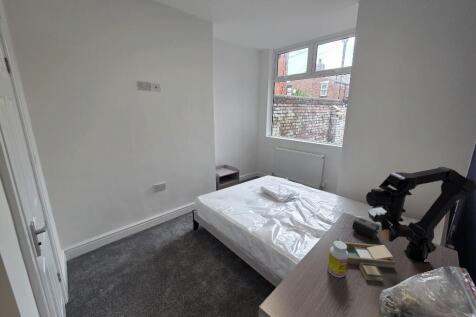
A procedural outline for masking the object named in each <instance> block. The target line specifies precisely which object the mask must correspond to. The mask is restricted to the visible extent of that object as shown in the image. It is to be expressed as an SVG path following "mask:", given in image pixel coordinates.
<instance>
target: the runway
mask: <svg viewBox="0 0 476 317" xmlns="http://www.w3.org/2000/svg"><path fill="white" fill-rule="evenodd" d="M336 241H341V242H343V243H345V244H346V245H347V252H348V255H349V256H348V262H347V265H349V264H351V265H358V266H359V265H360V263H370V264H376V265H377V267H378V268H379V267H380V268H388V269H389V268H390V269H394V268H396V267H395V266H396V264H397V263H396V261H395V260H394V257H393V255H392V254H391V252H390V251H389V250H388V248H387V247H386V245H384V244H382V245H381V244H370V243H361V242H359V243H358V242H350V241H347V242H346V241H342V240H341V238H340V237H337V240H336Z"/></svg>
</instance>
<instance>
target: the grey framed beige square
mask: <svg viewBox="0 0 476 317" xmlns="http://www.w3.org/2000/svg"><path fill="white" fill-rule="evenodd" d="M358 268H359V270H360V272H361V274H362V275H363V277H364V279H365V280H367V281H375V282H384V274H383V273H382V271H381V270H380V268H379V267H378V266H377V265H376V264H370V263H360V265H358Z"/></svg>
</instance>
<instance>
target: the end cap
mask: <svg viewBox="0 0 476 317" xmlns="http://www.w3.org/2000/svg"><path fill="white" fill-rule="evenodd" d="M351 228H352V230H353V231H355V232H356V233H358V234H361V235H362V236H365V237H367V238H369V239H371V240H373V241H374V240H375V239H376V238H377V237H378V234H379V231H378V230H379V229H380V225H378V224H376V223H374V222H372V223H371V224H369V223H367V220H366V219H363V218H359V219H356V218H355V220H353V223H352V227H351Z"/></svg>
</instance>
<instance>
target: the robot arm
mask: <svg viewBox="0 0 476 317" xmlns="http://www.w3.org/2000/svg"><path fill="white" fill-rule="evenodd" d="M440 181H441V182H442V183H441V184H440V194H439V195H438V197H437V198H436V199H435V200H434V201H433V203H432V205H431V206H430V207H429V209H428V210H427V211H426V212H425V213H424V215H423V216H422V217H421V219H420V220H419V221H416V222H412V221H410V222H409V223H408V225H407V224H403V223H400V222H404V218H403V217H402V215H403V213H406V209H405V208H404V205H405V201H406V197H407V196H412V194H413V193H412V192H410V191H412V190H414V189H415V188H416V187H417V186H420V185H426V184H430V183H435V182H436V183H437V182H440ZM378 187H379V188H371V190H370V191H368V192H367V193H366V195H365V200H366V203H367V205H368V206H370V207H371V208H370V209H367V212H368V213H367V214H368V218H370V220H371V221H372V223H380V227H381V232H382V231H383V230H385V229H388V230H389V240H388V241H389V242H391V243H393V242H394V241H395V240H396V239H397V238H405V240H408V241H409V242H408V244H407V245H406V249H403V252H404V253H405V255H407V257H408V258H409V257H410V258H409V259H410V260H411V261H412V262H414V261H418V262H417V263H424V260H425V259H428V257H429V254H432V253H434V252H435V251H436V250H437V246H436V245H435V244H434V243H433V240H434V238H435V229H436V228H437V226H438V225H439V223H440V222H441V221H442V220H443V219H444V217H445V216H446V215H447V213H448V212H450V210H451V209H452V207H453V206H454V205H455V204H456V203H457V202H458V201H460V200H462V199H463V200H464V199H465V198H469V196H470V195H471V194H472V193H474V191H476V182H475V181H474V180H472V179H469V178H467V177H466V176H463V175H462V174H461V173H459V172H458V171H456V170H455V169H453V168H450V167H446V166H438V167H437V168H431V169H427V170H421V171H415V172H404V171H403V172H402V171H401V172H399V171H398V172H391V173H390V174H389V175H388V176H387V177H386V178H385V179H384V180H383V181H382V183H381V184H380V185H379V186H378Z"/></svg>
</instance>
